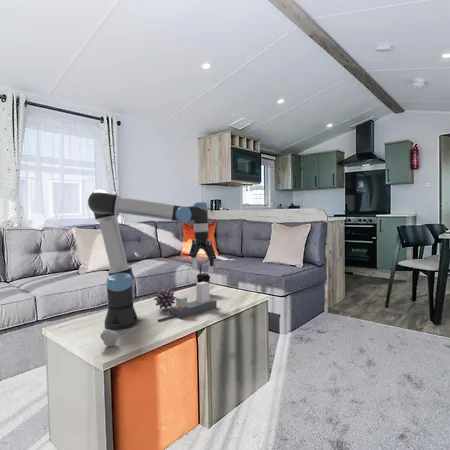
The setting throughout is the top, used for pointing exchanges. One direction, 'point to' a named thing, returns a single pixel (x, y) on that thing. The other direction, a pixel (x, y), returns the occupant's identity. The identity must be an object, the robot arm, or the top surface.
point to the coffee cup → (203, 278)
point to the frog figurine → (109, 337)
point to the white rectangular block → (202, 292)
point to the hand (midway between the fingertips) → (202, 270)
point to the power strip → (191, 309)
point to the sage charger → (181, 302)
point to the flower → (165, 298)
